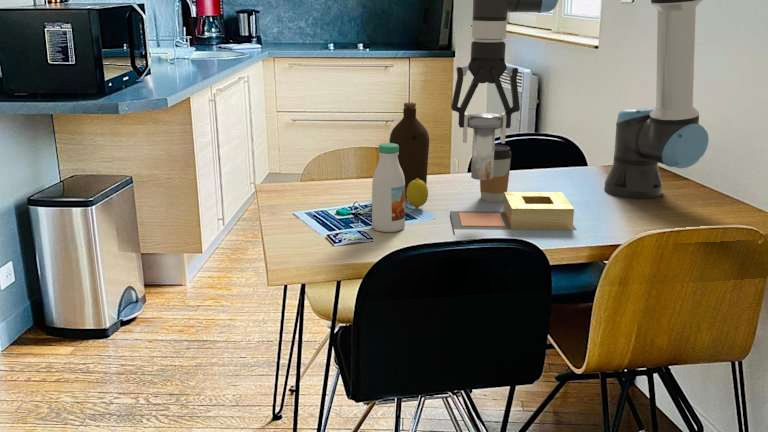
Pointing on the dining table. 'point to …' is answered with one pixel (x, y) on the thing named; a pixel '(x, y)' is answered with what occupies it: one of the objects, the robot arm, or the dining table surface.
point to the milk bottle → (388, 191)
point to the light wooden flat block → (538, 211)
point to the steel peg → (483, 143)
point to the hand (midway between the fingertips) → (483, 141)
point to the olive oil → (411, 145)
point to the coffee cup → (497, 176)
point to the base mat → (479, 220)
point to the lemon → (417, 193)
